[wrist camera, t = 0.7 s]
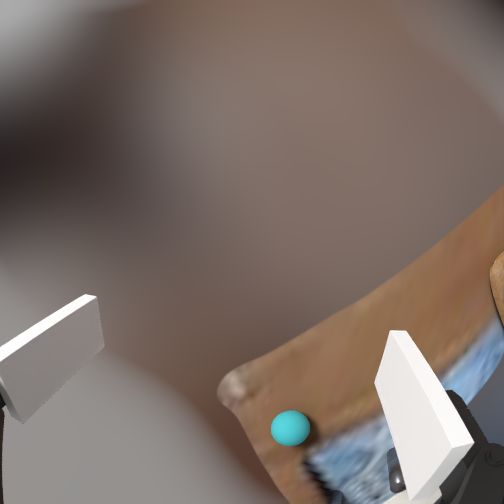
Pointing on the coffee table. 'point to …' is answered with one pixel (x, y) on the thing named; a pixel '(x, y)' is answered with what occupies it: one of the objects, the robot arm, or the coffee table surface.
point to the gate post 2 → (395, 472)
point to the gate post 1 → (334, 497)
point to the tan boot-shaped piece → (498, 284)
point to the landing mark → (401, 500)
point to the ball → (290, 428)
